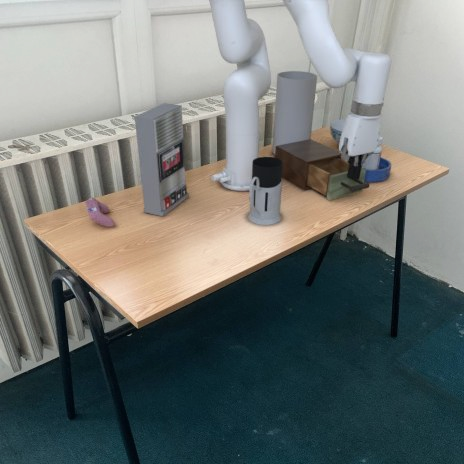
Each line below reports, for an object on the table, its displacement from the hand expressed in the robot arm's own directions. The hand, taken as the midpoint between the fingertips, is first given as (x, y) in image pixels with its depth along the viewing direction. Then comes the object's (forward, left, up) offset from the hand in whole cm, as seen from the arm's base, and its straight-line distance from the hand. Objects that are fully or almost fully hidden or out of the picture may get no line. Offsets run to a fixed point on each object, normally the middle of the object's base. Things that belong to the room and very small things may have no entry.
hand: (352, 178), depth 133 cm
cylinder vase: (+8, +39, -7) cm, 41 cm away
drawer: (0, +6, -6) cm, 9 cm away
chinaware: (+30, +34, -7) cm, 46 cm away
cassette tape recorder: (-46, +23, -7) cm, 52 cm away
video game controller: (-65, +23, -7) cm, 69 cm away
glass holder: (-29, +2, -7) cm, 30 cm away
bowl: (+18, +12, -7) cm, 23 cm away
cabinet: (0, +20, -7) cm, 21 cm away
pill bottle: (+18, +12, -7) cm, 23 cm away
